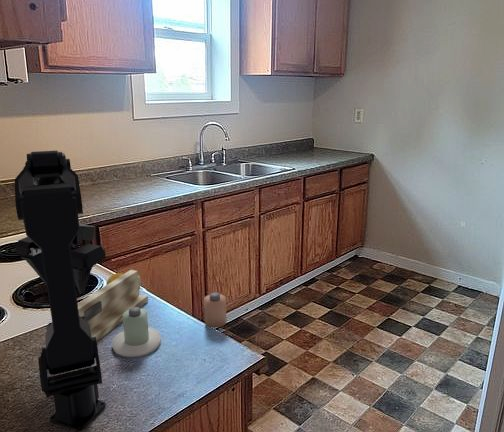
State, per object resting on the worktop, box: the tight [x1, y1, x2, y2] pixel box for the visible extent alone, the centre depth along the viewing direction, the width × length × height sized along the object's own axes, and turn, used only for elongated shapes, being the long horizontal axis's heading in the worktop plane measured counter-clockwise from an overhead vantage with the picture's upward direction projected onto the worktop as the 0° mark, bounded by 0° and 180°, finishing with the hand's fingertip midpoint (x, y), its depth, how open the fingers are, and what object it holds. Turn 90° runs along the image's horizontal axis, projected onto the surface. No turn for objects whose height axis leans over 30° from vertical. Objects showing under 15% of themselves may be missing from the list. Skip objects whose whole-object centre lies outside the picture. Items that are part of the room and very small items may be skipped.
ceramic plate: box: [111, 326, 162, 358], centre depth 93 cm, size 10×10×1 cm
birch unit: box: [77, 269, 149, 342], centre depth 101 cm, size 22×5×8 cm, turn 159°
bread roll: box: [106, 272, 142, 289], centre depth 118 cm, size 8×9×4 cm
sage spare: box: [122, 307, 149, 346], centre depth 92 cm, size 5×5×7 cm
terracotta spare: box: [203, 292, 227, 329], centre depth 100 cm, size 5×5×7 cm
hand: (65, 288), depth 91 cm, fingers open, 9 cm apart
